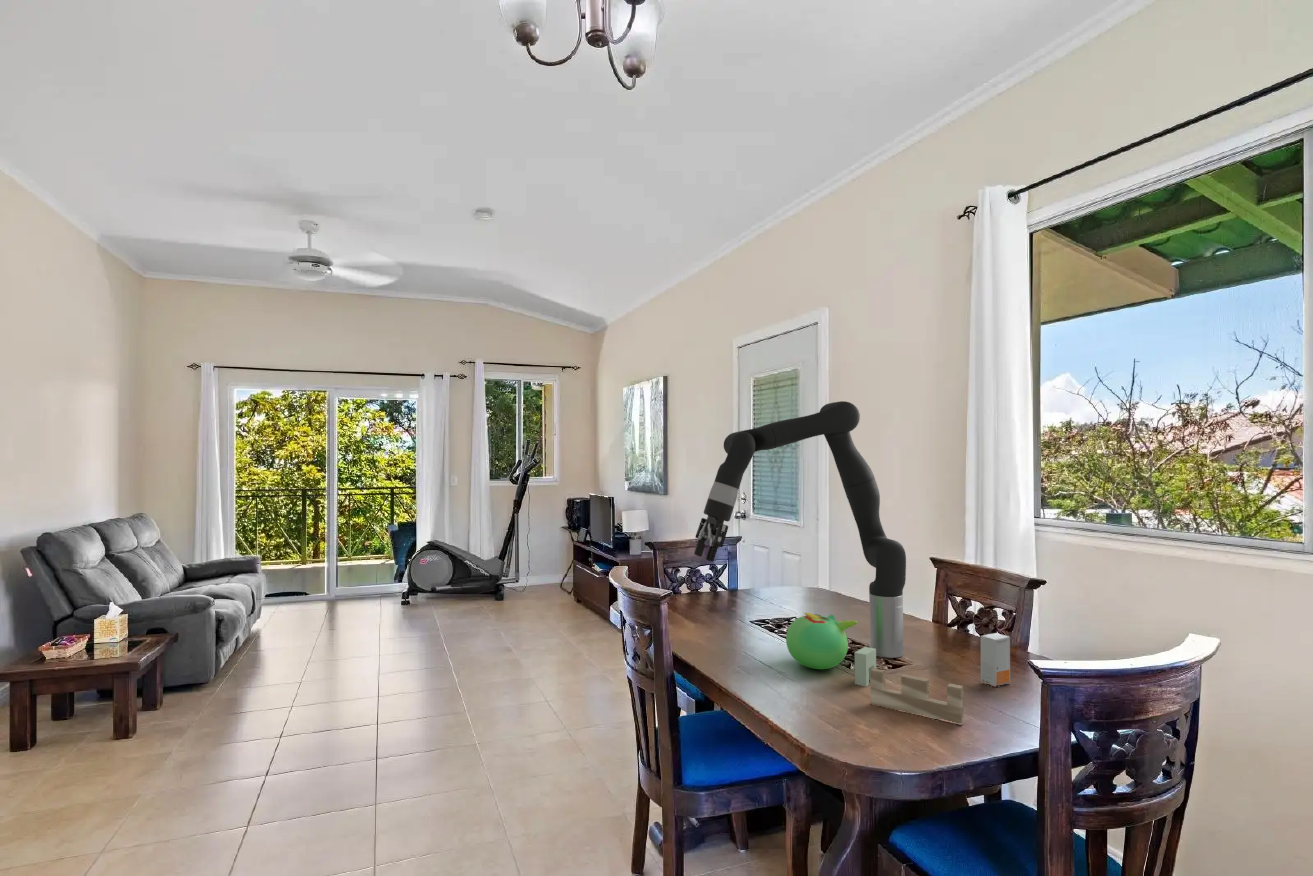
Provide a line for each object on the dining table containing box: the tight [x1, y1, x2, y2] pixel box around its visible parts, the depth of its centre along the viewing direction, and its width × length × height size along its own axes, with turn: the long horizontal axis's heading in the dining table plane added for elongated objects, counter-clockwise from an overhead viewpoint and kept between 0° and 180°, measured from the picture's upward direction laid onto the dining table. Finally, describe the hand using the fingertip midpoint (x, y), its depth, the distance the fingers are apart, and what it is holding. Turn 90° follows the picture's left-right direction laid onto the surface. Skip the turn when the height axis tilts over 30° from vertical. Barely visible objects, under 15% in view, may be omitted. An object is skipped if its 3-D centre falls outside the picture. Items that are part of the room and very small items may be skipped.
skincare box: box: [980, 632, 1011, 685], centre depth 173 cm, size 6×4×12 cm
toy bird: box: [785, 612, 858, 670], centre depth 187 cm, size 18×17×15 cm
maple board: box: [869, 667, 965, 723], centre depth 154 cm, size 2×20×8 cm, turn 50°
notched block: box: [854, 646, 877, 688], centre depth 174 cm, size 6×3×8 cm, turn 140°
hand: (703, 558), depth 186 cm, fingers open, 8 cm apart
